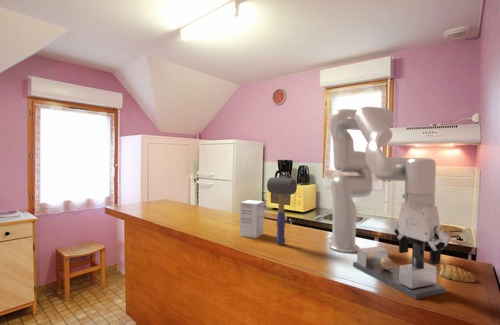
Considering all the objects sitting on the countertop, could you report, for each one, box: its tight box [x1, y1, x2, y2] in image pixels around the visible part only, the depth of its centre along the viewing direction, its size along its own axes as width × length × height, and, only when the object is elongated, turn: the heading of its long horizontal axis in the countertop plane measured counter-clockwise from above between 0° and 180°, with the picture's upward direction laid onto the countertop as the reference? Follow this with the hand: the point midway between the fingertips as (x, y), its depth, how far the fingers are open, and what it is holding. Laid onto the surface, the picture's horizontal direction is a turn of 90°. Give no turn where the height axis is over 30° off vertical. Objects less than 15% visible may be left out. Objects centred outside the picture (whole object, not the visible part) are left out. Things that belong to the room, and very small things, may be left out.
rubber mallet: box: [266, 176, 298, 246], centre depth 119 cm, size 12×8×30 cm, turn 56°
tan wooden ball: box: [380, 257, 395, 270], centre depth 89 cm, size 4×4×4 cm
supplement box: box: [239, 199, 265, 239], centre depth 134 cm, size 10×9×17 cm
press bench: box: [352, 246, 447, 300], centre depth 86 cm, size 24×12×6 cm, turn 21°
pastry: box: [439, 263, 476, 283], centre depth 87 cm, size 9×7×4 cm
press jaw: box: [399, 238, 437, 289], centre depth 78 cm, size 4×10×13 cm, turn 111°
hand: (418, 257), depth 78 cm, fingers open, 9 cm apart
